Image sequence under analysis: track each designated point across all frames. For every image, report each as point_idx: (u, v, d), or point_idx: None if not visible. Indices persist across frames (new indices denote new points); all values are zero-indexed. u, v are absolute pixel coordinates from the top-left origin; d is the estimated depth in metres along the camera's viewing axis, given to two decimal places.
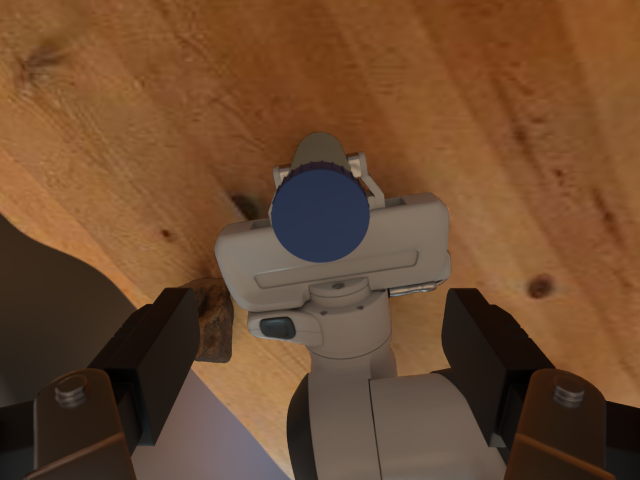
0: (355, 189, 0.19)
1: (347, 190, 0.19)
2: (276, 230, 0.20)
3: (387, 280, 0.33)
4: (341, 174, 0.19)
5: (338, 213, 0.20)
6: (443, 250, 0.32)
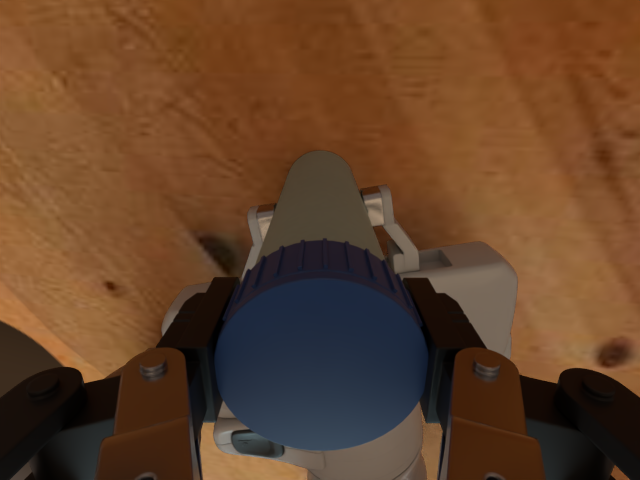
0: (401, 317, 0.09)
1: (382, 320, 0.09)
2: (226, 395, 0.09)
3: None
4: (370, 288, 0.08)
5: (361, 364, 0.09)
6: (506, 332, 0.21)
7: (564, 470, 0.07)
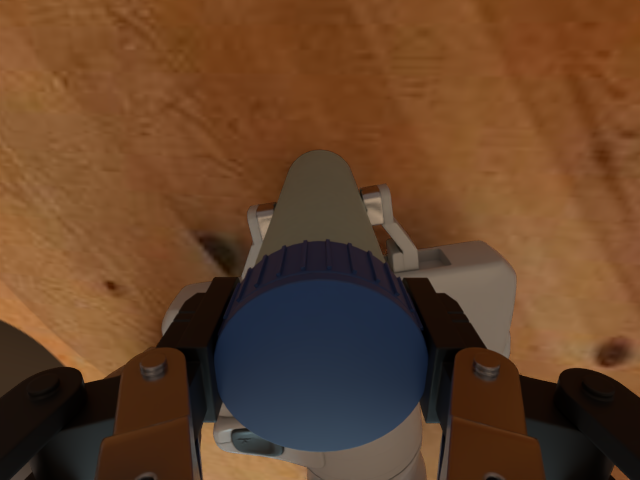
0: (271, 298, 0.08)
1: (271, 314, 0.08)
2: (322, 448, 0.10)
3: None
4: (233, 317, 0.09)
5: (319, 341, 0.09)
6: (505, 331, 0.22)
7: (564, 470, 0.07)
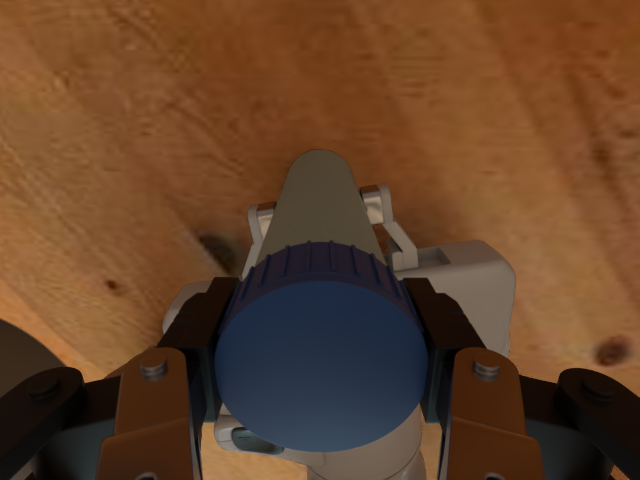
0: (226, 392, 0.09)
1: (242, 396, 0.09)
2: (417, 394, 0.09)
3: None
4: (240, 421, 0.10)
5: (281, 369, 0.09)
6: (504, 329, 0.22)
7: (564, 470, 0.07)
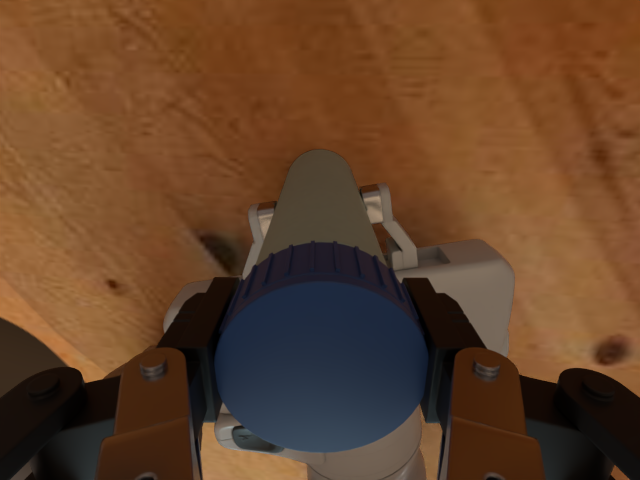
0: (317, 447, 0.10)
1: (326, 438, 0.10)
2: (374, 298, 0.08)
3: None
4: (356, 446, 0.10)
5: (303, 404, 0.09)
6: (503, 328, 0.22)
7: (564, 470, 0.07)
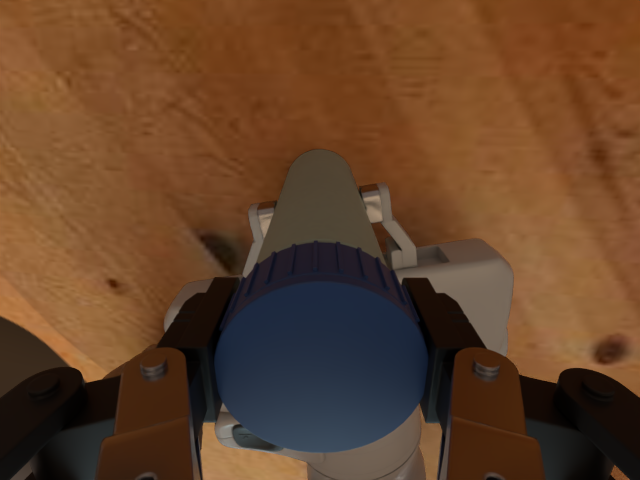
0: (413, 399, 0.09)
1: (403, 390, 0.09)
2: (241, 317, 0.08)
3: None
4: (427, 366, 0.09)
5: (350, 398, 0.09)
6: (502, 327, 0.22)
7: (564, 470, 0.07)
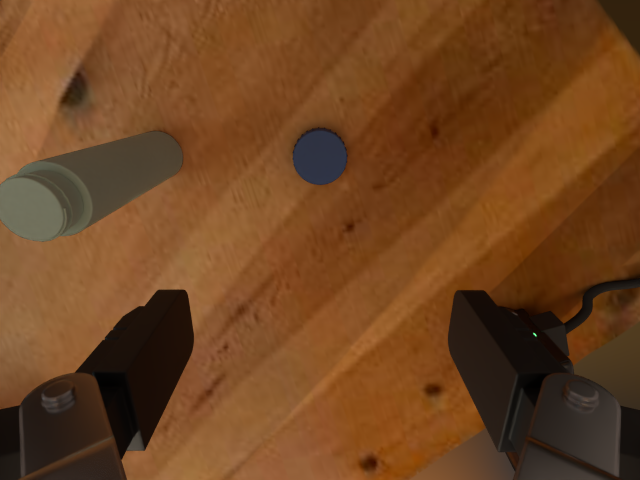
0: (343, 165, 0.37)
1: (340, 162, 0.37)
2: (301, 140, 0.36)
3: None
4: (346, 155, 0.36)
5: (327, 165, 0.37)
6: None
7: None
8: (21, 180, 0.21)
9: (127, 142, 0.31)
